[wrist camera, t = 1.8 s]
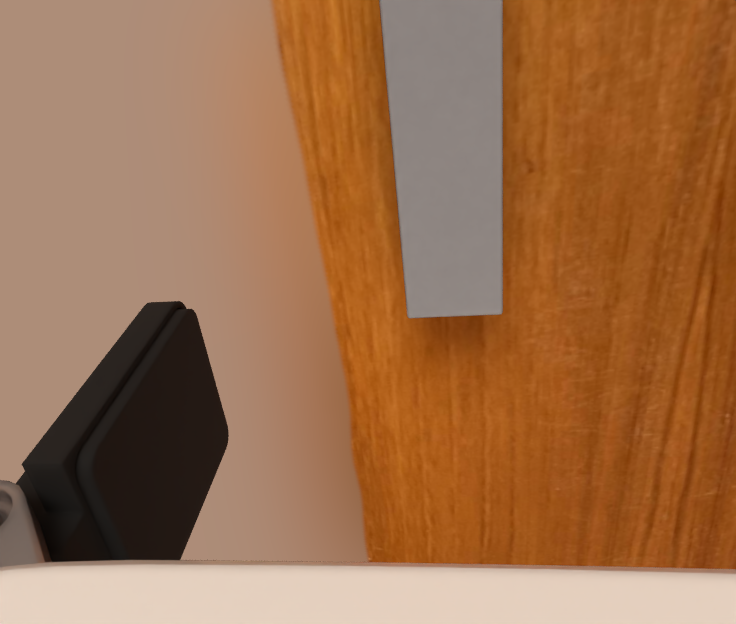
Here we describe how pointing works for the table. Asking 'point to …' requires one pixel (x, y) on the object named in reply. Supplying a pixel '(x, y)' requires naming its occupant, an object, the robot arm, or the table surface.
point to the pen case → (447, 151)
